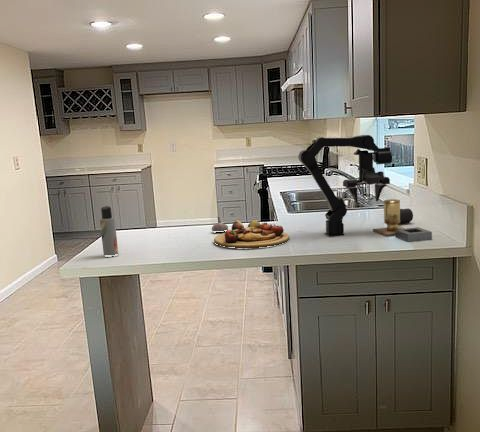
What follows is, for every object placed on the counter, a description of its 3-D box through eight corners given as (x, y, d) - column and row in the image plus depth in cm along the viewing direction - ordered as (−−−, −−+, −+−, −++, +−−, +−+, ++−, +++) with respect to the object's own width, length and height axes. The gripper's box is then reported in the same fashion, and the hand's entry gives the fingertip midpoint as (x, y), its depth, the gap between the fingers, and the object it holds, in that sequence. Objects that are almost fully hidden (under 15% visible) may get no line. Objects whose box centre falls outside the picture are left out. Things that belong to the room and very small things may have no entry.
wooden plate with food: (239, 255, 187) (238, 233, 185) (201, 241, 214) (199, 222, 212) (305, 242, 203) (304, 222, 202) (261, 231, 230) (261, 213, 229)
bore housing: (408, 242, 188) (407, 234, 188) (395, 236, 198) (395, 229, 198) (431, 239, 190) (431, 231, 190) (418, 234, 200) (418, 227, 199)
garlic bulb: (210, 234, 227) (209, 217, 226) (214, 231, 234) (213, 214, 233) (226, 234, 225) (224, 217, 224) (230, 230, 232) (229, 214, 231)
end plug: (388, 232, 202) (387, 202, 200) (381, 229, 209) (380, 200, 206) (403, 230, 203) (403, 201, 201) (395, 227, 210) (395, 198, 207)
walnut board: (386, 236, 199) (385, 234, 199) (372, 231, 211) (372, 228, 211) (413, 233, 202) (413, 231, 201) (398, 228, 213) (398, 226, 213)
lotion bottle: (119, 253, 200) (114, 205, 197) (116, 257, 195) (111, 207, 191) (105, 254, 200) (100, 206, 197) (102, 258, 195) (96, 208, 191)
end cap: (394, 226, 218) (394, 211, 217) (385, 224, 225) (384, 209, 224) (413, 224, 221) (413, 209, 220) (403, 221, 228) (403, 207, 226)
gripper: (352, 168, 195) (353, 206, 198) (396, 164, 199) (396, 202, 201) (341, 166, 206) (343, 203, 209) (383, 163, 209) (383, 199, 212)
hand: (366, 202), depth 207 cm, fingers open, 9 cm apart
